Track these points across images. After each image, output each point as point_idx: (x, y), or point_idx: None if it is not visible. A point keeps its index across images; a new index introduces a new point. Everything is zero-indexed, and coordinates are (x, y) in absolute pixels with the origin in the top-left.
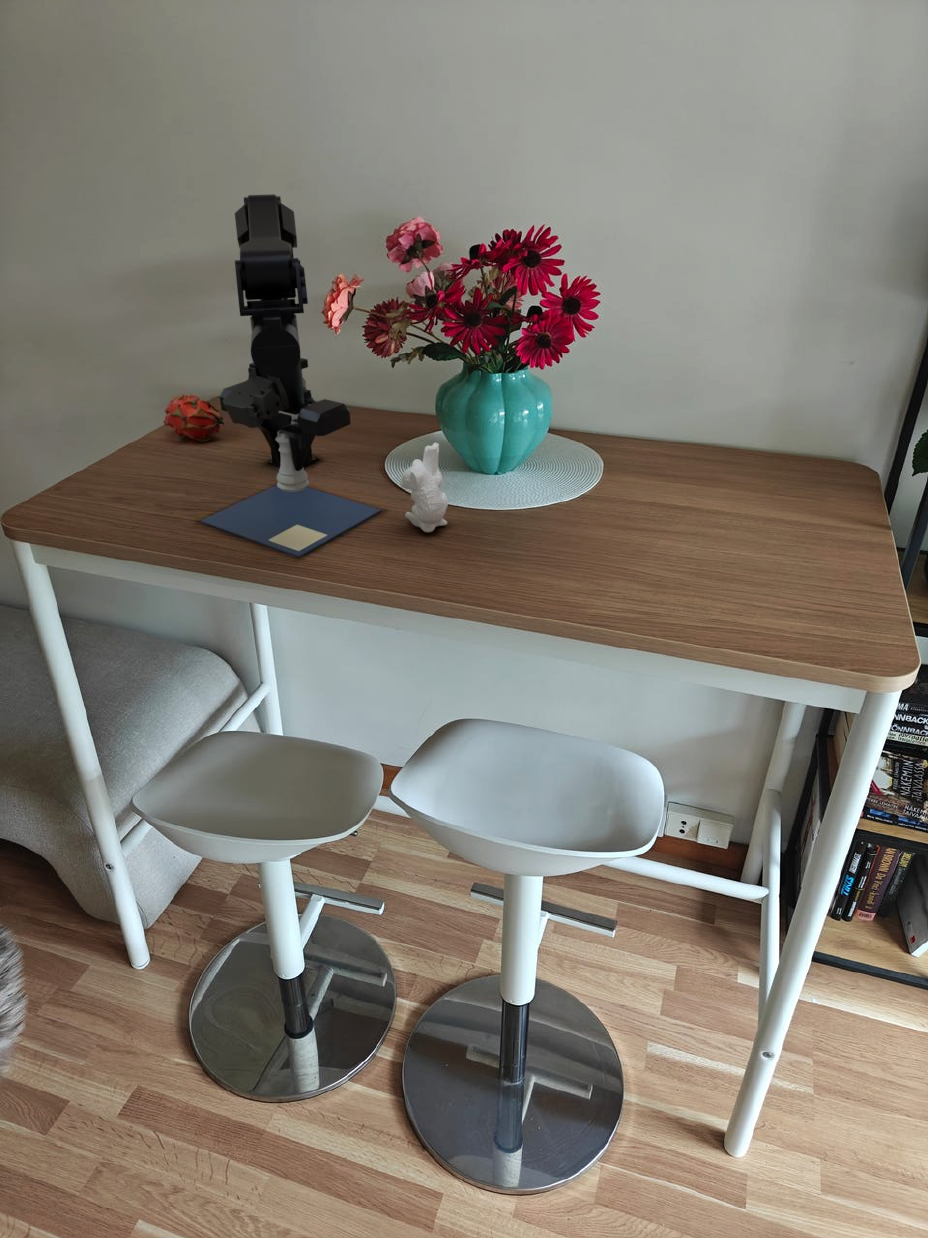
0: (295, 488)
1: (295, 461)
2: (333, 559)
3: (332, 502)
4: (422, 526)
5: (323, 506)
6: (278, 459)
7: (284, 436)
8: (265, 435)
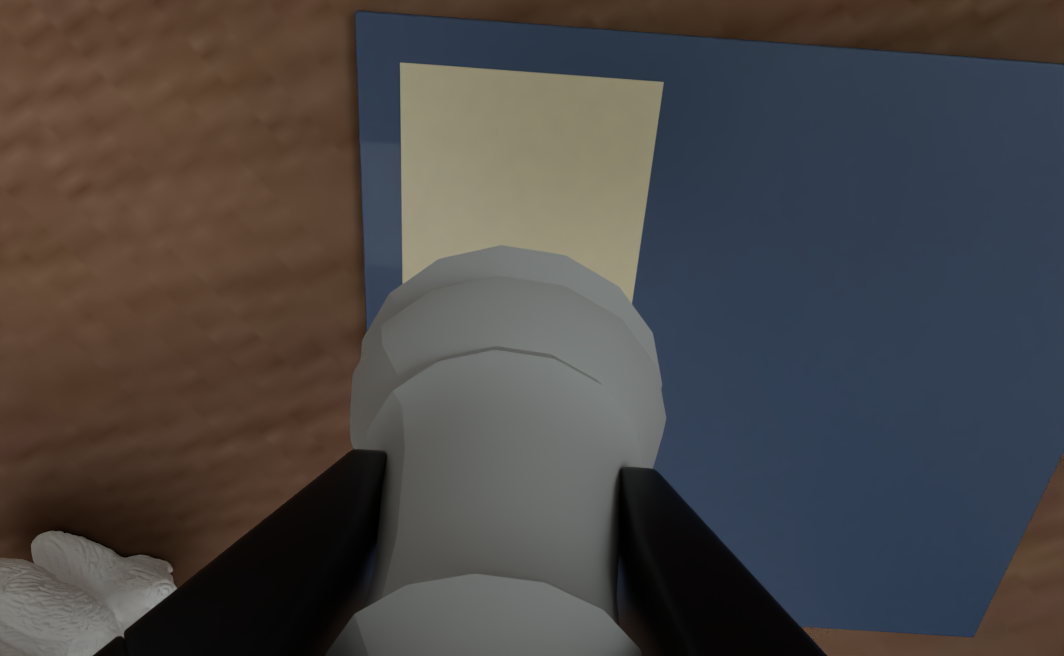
0: (390, 304)
1: (292, 514)
2: (185, 104)
3: None
4: (80, 553)
5: None
6: (644, 511)
7: None
8: None
